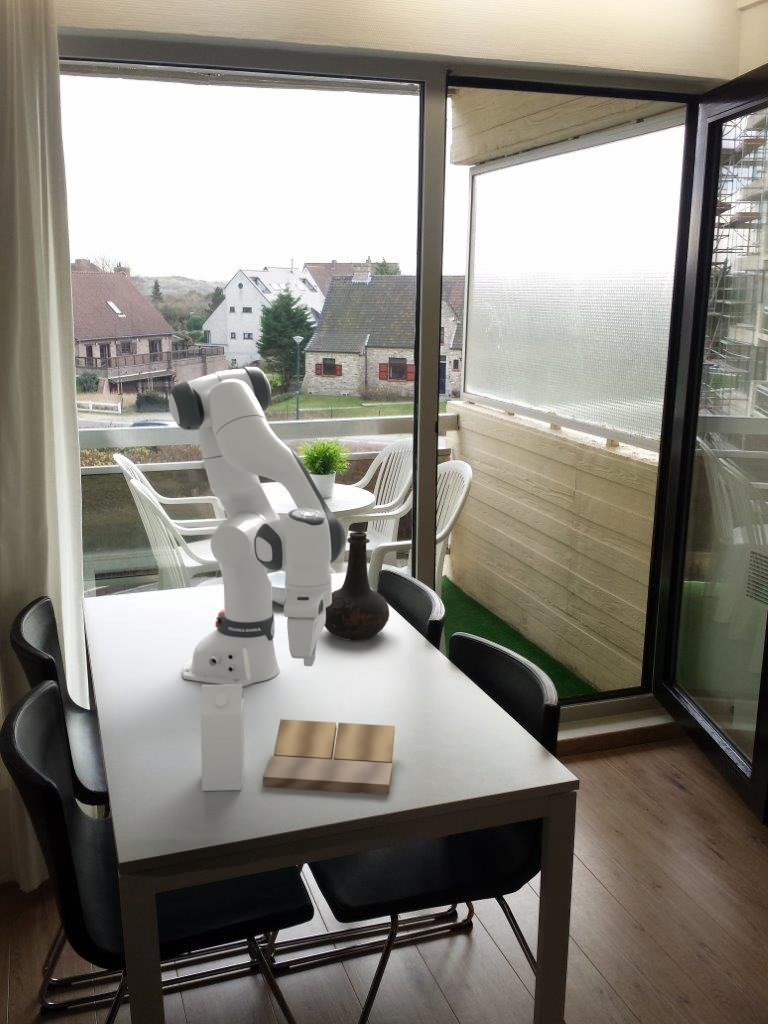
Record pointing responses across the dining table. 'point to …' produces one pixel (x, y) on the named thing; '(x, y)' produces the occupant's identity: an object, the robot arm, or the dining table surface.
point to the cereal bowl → (278, 586)
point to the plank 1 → (305, 739)
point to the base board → (328, 775)
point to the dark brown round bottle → (356, 599)
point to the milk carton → (222, 737)
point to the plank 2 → (364, 742)
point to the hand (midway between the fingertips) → (309, 663)
